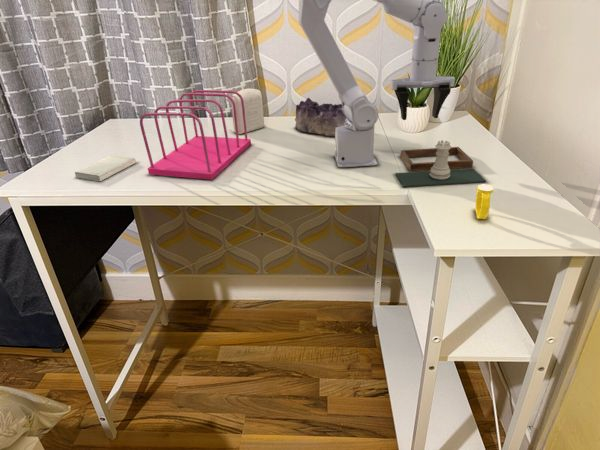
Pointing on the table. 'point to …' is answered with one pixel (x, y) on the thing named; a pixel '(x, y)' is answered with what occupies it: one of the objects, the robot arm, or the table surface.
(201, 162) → the file sorter
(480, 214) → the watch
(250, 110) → the white rounded block
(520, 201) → the table surface
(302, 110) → the geode
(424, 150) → the desk tray
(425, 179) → the desk mat
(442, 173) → the rook chess piece
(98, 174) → the hard drive
